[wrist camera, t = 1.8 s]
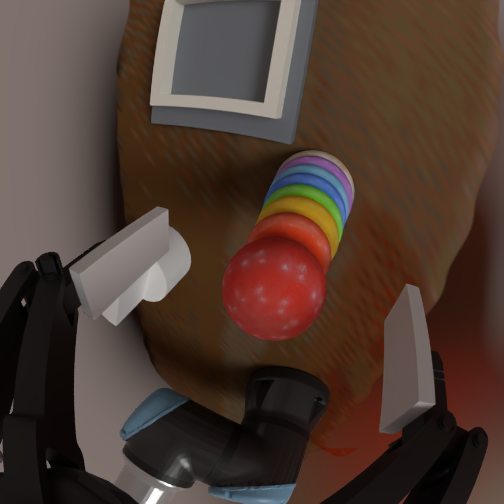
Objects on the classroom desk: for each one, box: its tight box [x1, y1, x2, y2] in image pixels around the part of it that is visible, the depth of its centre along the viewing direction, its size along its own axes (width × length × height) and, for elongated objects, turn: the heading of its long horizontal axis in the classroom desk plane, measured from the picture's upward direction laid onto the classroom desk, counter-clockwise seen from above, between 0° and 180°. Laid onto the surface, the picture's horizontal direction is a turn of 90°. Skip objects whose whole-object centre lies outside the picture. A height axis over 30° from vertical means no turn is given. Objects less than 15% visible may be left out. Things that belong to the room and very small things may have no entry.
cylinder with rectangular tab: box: [102, 226, 191, 326], centre depth 33 cm, size 9×9×12 cm
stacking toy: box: [222, 150, 354, 341], centre depth 19 cm, size 8×8×19 cm
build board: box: [150, 0, 319, 144], centre depth 20 cm, size 18×16×4 cm
